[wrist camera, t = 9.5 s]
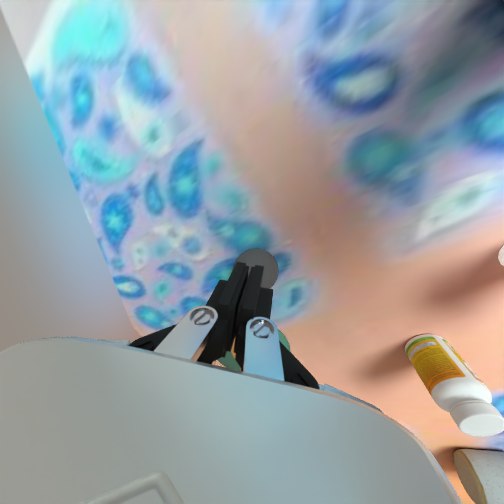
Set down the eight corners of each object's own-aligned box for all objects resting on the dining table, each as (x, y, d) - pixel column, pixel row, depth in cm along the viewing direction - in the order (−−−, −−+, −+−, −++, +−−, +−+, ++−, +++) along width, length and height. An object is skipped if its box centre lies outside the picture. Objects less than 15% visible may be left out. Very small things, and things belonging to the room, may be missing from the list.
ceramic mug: (452, 439, 37) (489, 504, 30) (509, 443, 35) (563, 513, 28) (444, 467, 41) (476, 529, 34) (495, 471, 39) (539, 539, 32)
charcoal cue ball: (223, 292, 23) (235, 278, 29) (270, 306, 23) (273, 289, 28) (233, 247, 22) (243, 241, 28) (282, 259, 22) (283, 251, 27)
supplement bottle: (397, 354, 31) (440, 433, 22) (413, 329, 28) (469, 405, 20) (434, 363, 30) (494, 446, 22) (455, 337, 28) (531, 419, 19)
